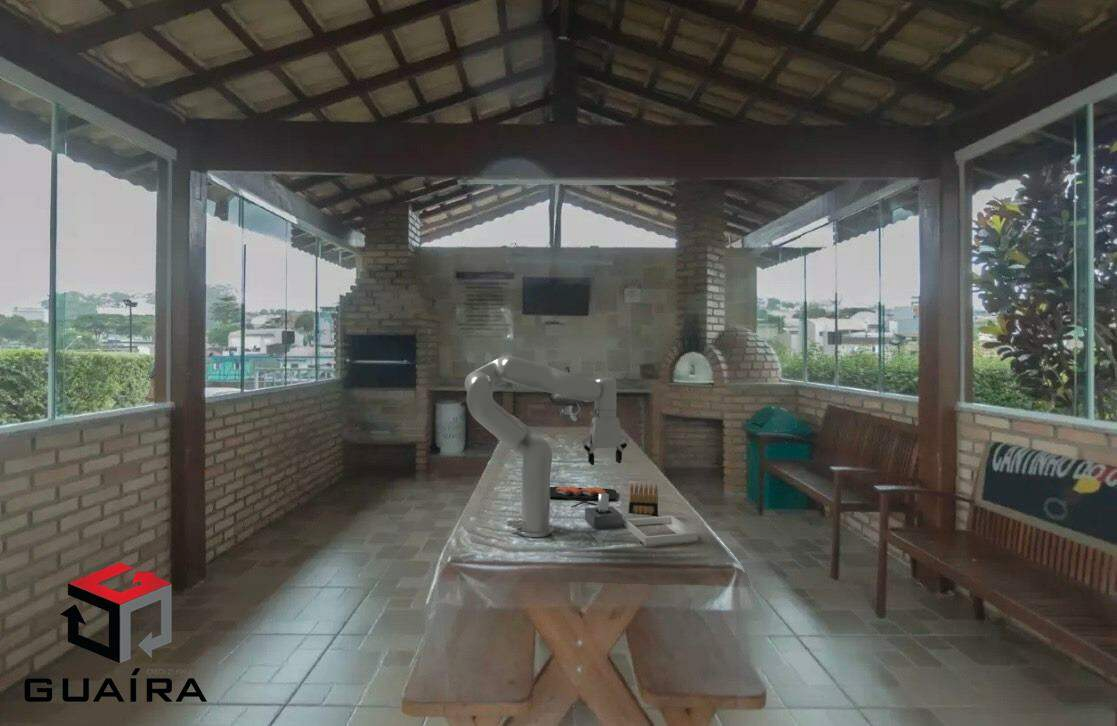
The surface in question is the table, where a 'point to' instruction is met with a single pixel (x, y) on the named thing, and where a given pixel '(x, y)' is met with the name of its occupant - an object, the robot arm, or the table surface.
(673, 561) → the table surface
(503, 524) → the table surface
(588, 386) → the robot arm
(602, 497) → the pin
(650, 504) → the ammunition clip
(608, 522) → the pin block
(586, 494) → the sushi plate
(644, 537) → the tray
